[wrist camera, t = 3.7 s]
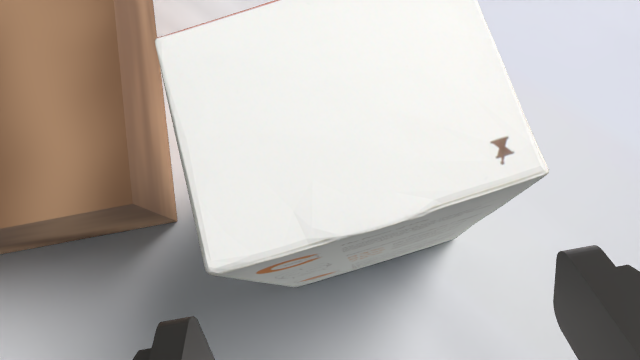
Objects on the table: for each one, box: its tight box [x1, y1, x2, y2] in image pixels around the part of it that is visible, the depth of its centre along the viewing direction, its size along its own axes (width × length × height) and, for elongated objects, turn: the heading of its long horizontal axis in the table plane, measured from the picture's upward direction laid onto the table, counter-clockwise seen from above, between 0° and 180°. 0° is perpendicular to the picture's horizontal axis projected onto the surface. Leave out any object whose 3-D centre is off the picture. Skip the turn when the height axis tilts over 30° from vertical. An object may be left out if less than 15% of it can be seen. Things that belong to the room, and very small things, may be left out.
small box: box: [155, 0, 549, 288], centre depth 19 cm, size 8×6×13 cm
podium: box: [0, 0, 177, 254], centre depth 25 cm, size 13×13×5 cm
